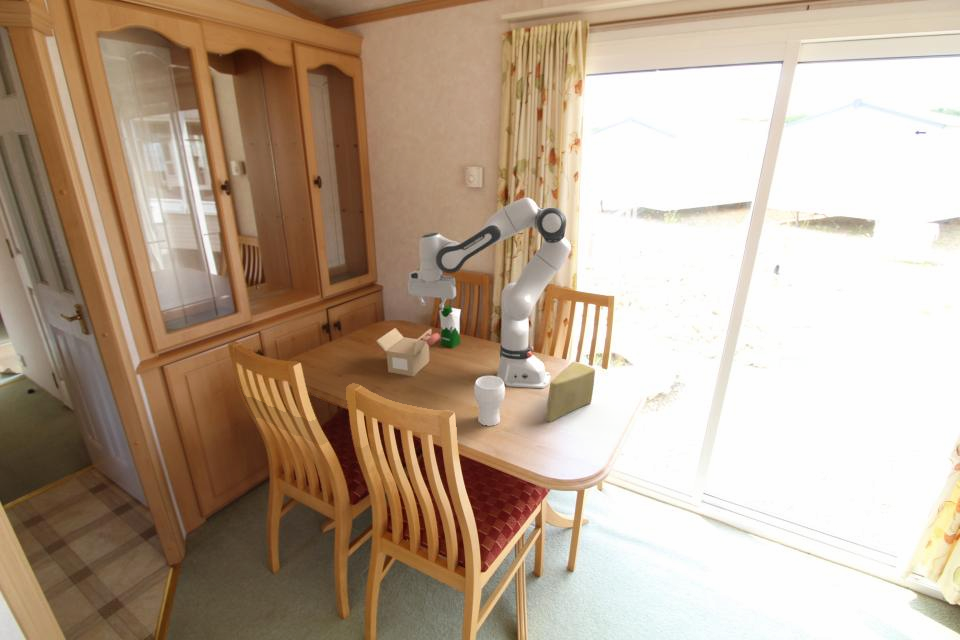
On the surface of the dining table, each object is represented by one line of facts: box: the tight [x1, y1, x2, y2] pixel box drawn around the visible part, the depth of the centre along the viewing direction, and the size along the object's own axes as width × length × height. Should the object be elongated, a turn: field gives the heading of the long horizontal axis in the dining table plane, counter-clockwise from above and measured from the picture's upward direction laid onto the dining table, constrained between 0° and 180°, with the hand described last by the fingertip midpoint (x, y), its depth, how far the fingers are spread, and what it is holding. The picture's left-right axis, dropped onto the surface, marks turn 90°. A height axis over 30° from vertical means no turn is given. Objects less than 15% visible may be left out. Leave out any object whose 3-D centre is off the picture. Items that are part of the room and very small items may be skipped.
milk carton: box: [438, 305, 462, 349], centre depth 212 cm, size 9×9×20 cm
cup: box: [473, 375, 506, 427], centre depth 150 cm, size 11×11×15 cm
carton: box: [386, 336, 430, 377], centre depth 190 cm, size 12×16×10 cm
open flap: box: [375, 327, 405, 353], centre depth 190 cm, size 6×16×1 cm
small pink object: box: [413, 328, 441, 355], centre depth 184 cm, size 7×16×7 cm
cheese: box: [546, 361, 596, 423], centre depth 156 cm, size 22×10×15 cm, turn 137°
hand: (432, 306), depth 178 cm, fingers open, 7 cm apart
